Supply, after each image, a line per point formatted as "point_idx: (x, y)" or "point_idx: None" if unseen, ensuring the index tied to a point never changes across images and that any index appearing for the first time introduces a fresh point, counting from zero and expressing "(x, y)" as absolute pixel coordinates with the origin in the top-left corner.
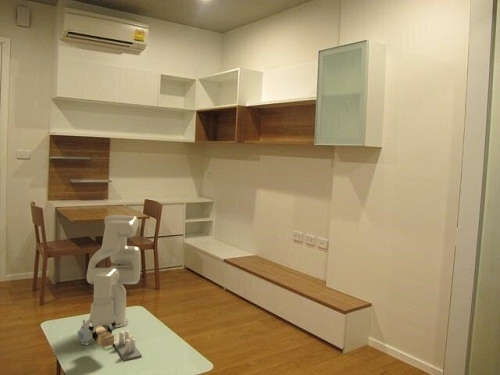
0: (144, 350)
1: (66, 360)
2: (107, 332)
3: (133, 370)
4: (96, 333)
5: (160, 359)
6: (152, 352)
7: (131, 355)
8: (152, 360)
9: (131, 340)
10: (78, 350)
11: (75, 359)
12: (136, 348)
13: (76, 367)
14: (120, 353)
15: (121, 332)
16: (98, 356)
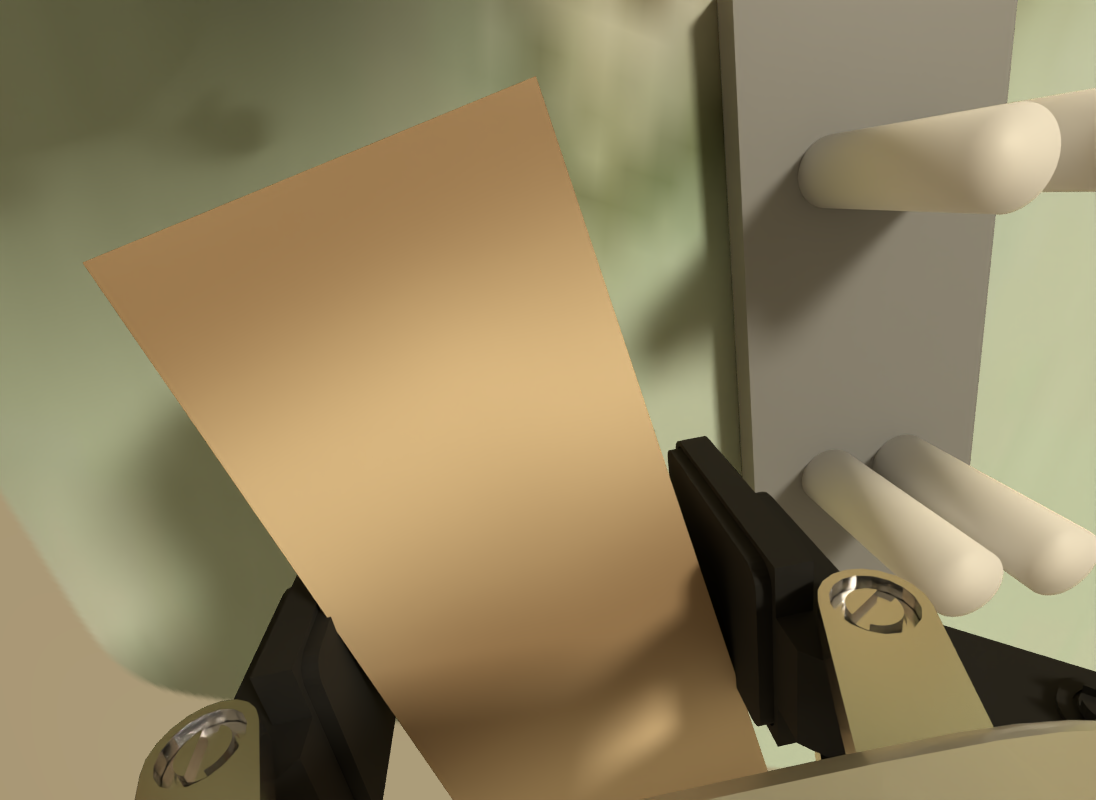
0: (1036, 386)
1: (21, 442)
2: (691, 709)
3: None
4: (387, 694)
5: (1077, 624)
6: (1088, 460)
7: (855, 551)
8: (1004, 629)
9: (1020, 578)
10: (126, 117)
11: (153, 439)
12: (975, 373)
13: (215, 641)
14: (749, 455)
15: (1007, 163)
16: None
